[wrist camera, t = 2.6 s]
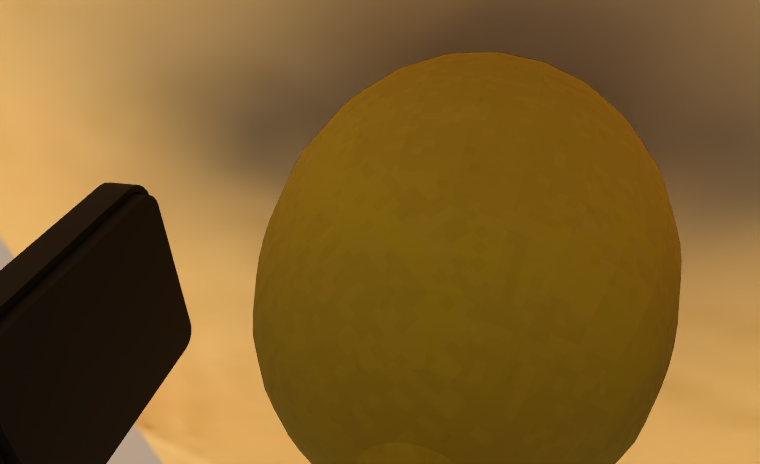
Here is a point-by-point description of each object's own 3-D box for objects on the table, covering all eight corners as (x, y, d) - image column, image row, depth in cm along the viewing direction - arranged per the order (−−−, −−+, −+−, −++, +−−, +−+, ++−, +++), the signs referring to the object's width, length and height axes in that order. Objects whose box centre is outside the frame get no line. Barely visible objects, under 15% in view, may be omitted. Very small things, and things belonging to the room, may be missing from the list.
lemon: (724, 61, 11) (900, 487, 5) (565, 292, 14) (543, 717, 8) (410, -68, 11) (164, 177, 5) (326, 191, 14) (118, 535, 8)
